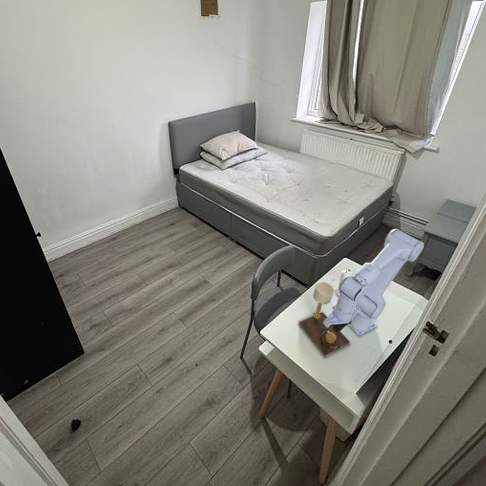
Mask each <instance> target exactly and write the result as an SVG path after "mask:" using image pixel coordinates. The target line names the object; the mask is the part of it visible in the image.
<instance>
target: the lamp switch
mask: <svg viewBox="0 0 486 486" xmlns="http://www.w3.org/2000/svg"><path fill="white" fill-rule="evenodd" d="M325 339H326V341H327V342H328V343H331V344H333V343H335V341H336V335H335V334H334V333H332V332H328V333H327V334H326V336H325Z"/></svg>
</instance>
